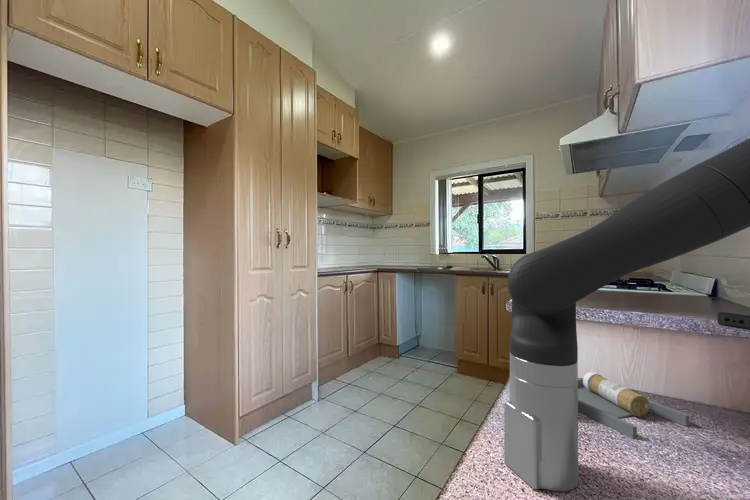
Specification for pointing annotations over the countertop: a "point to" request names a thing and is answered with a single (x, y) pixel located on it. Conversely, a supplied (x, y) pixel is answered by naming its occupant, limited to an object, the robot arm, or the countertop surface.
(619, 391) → the sprinkles bottle
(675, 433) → the countertop surface
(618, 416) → the grey open-ended tray
